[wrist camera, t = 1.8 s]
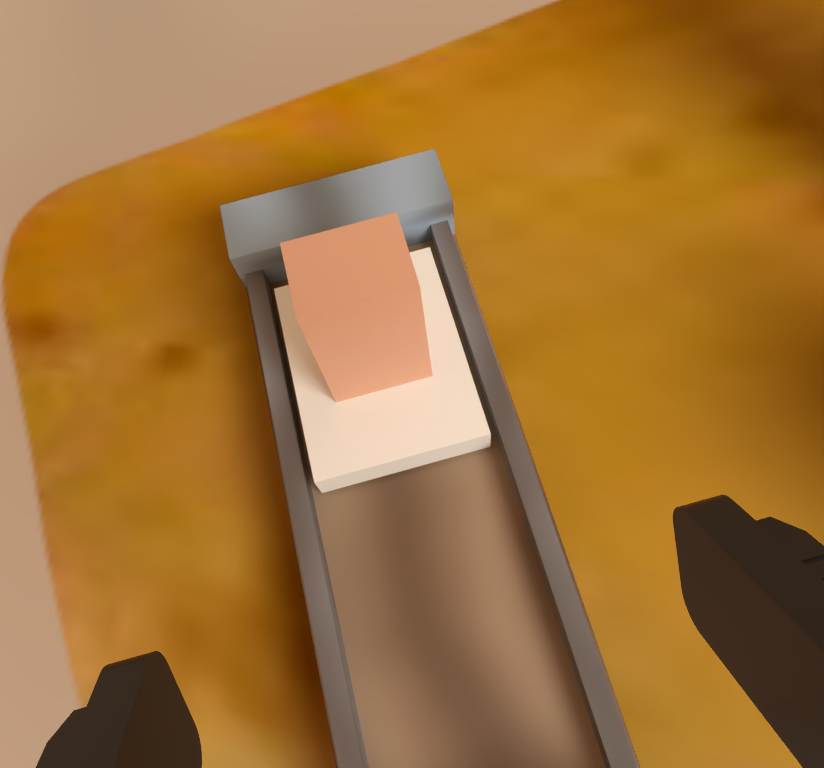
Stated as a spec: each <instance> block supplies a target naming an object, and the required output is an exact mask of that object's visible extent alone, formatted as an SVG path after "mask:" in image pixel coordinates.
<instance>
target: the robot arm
mask: <svg viewBox="0 0 824 768" xmlns="http://www.w3.org/2000/svg"><path fill="white" fill-rule="evenodd" d="M673 524H674V532H675V540H676V548H677V556H678V564H679V572H680V580H681V587H682V593H683V597H684V601H685V604H686V607H687V609H688V612H689V614H690V617H691V619H692V621H693V623H694V624H695V626H696V628H697V629H698V631H699V632H700V634H701V635H702V636H703V638H704V639H705V640H706V642H707V643H708V644H709V645H710V647H711V648H712V649H713V651H714V652H715V653H716V655H717V656H718V657H719V659H720V660H721V661H722V662H723V664H724V665H725V666H726V668H727V669H728V670H729V672H730V673H731V674H732V675H733V677H734V678H735V679H736V681H737V682H738V683H739V685H740V686H741V687H742V689H743V690H744V691H745V692H746V694H747V695H748V696H749V698H750V699H751V700H752V702H753V703H754V704H755V706H756V707H757V708H758V709H759V711H760V712H761V713H762V715H763V716H764V717H765V719H766V720H767V721H768V723H769V724H770V725H771V726H772V728H773V729H774V730H775V732H776V733H777V734H778V736H779V737H780V738H781V740H782V741H783V742H784V743H785V745H786V746H787V747H788V749H789V750H790V751H791V753H792V754H793V755H794V757H795V758H796V759H797V760H798V762H799V763H800V764H801V766H802V767H803V768H824V546H823V545H822V544H821V543H819V542H818V541H817V540H816V539H815V538H813V537H812V536H811V535H810V534H808V533H807V532H806V531H804V530H802V529H799V528H797V527H794V526H792V525H789V524H787V523H784V522H782V521H779V520H777V519H774V518H772V517H767V518H764V519H760V520H757V521H756V520H754V519H753V518H752V517H751V516H750V515H749V514H748V513H747V512H745V511H744V510H743V509H742V508H741V507H740V506H739V505H737V504H736V503H735V502H734V501H733V500H732V499H731V498H729V497H728V496H726V495H719V496H716V497H712V498H709V499H705V500H702V501H698V502H694V503H691V504H687V505H684V506H680V507H676V508H675V510H674V512H673ZM36 768H202V753H201V744H200V738H199V734H198V731H197V728H196V725H195V723H194V721H193V718H192V716H191V714H190V712H189V709H188V707H187V705H186V703H185V701H184V698H183V696H182V694H181V692H180V689H179V687H178V685H177V683H176V681H175V678H174V676H173V674H172V672H171V669H170V667H169V665H168V663H167V661H166V659H165V658H164V656H163V655H162V654H161V653H160V652H158V651H154V652H151V653H147V654H144V655H140V656H136V657H133V658H129V659H126V660H122V661H119V662H115V663H111V664H108V665H106V666H105V667H104V668H103V669H102V671H101V673H100V675H99V677H98V680H97V682H96V685H95V687H94V690H93V692H92V695H91V697H90V699H89V702H88V704H87V707H84V708H81V709H78V710H74V711H73V712H72V713H71V714H70V716H69V717H68V718H67V719H66V721H65V722H64V723H63V724H62V725H61V727H60V728H59V729H58V730H57V731H56V733H55V734H54V735H53V736H52V737H51V739H50V740H49V741H48V742H47V744H46V746H45V748H44V751H43V753H42V755H41V757H40V760H39V762H38V764H37V766H36Z"/></svg>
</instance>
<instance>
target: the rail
mask: <svg viewBox="0 0 824 768" xmlns="http://www.w3.org/2000/svg"><path fill="white" fill-rule="evenodd" d="M220 210H221V216H222V221H223V227H224V233H225V238H226V244H227V249H228V255H229V260H230V261H231V263H232V265H233V267H234V269H235V270H236V272H237V274H238V276H239V277H240V279H241V281H242V283H243V285H244V286H245V288H246V290H247V295H248V301H249V306H250V311H251V316H252V322H253V327H254V332H255V338H256V343H257V348H258V354H259V359H260V364H261V370H262V375H263V380H264V385H265V391H266V396H267V401H268V407H269V412H270V417H271V423H272V428H273V433H274V439H275V444H276V449H277V454H278V460H279V465H280V470H281V476H282V481H283V486H284V492H285V497H286V502H287V508H288V513H289V518H290V523H291V529H292V534H293V539H294V545H295V550H296V555H297V561H298V566H299V571H300V576H301V582H302V587H303V592H304V598H305V603H306V608H307V614H308V619H309V624H310V630H311V635H312V640H313V645H314V651H315V656H316V661H317V667H318V672H319V677H320V683H321V688H322V693H323V699H324V704H325V709H326V714H327V720H328V725H329V730H330V736H331V741H332V746H333V752H334V757H335V762H336V768H640V765H639V762H638V759H637V756H636V754H635V751H634V748H633V745H632V742H631V739H630V736H629V733H628V731H627V728H626V725H625V722H624V719H623V716H622V713H621V710H620V708H619V705H618V702H617V699H616V696H615V693H614V690H613V687H612V685H611V682H610V679H609V676H608V673H607V670H606V667H605V664H604V662H603V659H602V656H601V653H600V650H599V647H598V644H597V641H596V639H595V636H594V633H593V630H592V627H591V624H590V621H589V618H588V616H587V613H586V610H585V607H584V604H583V601H582V598H581V596H580V593H579V590H578V587H577V584H576V581H575V578H574V575H573V573H572V570H571V567H570V564H569V561H568V558H567V555H566V552H565V550H564V547H563V544H562V541H561V538H560V535H559V532H558V529H557V527H556V524H555V521H554V518H553V515H552V512H551V509H550V506H549V504H548V501H547V498H546V495H545V492H544V489H543V486H542V483H541V481H540V478H539V475H538V472H537V469H536V466H535V463H534V461H533V458H532V455H531V452H530V449H529V446H528V443H527V440H526V438H525V435H524V432H523V429H522V426H521V423H520V420H519V417H518V415H517V412H516V409H515V406H514V403H513V400H512V397H511V394H510V392H509V389H508V386H507V383H506V380H505V377H504V374H503V371H502V369H501V366H500V363H499V360H498V357H497V354H496V351H495V348H494V346H493V343H492V340H491V337H490V334H489V331H488V328H487V325H486V323H485V320H484V317H483V314H482V311H481V308H480V305H479V303H478V300H477V297H476V294H475V291H474V288H473V285H472V282H471V280H470V277H469V274H468V271H467V268H466V265H465V262H464V259H463V257H462V254H461V251H460V248H459V245H458V242H457V239H456V236H455V230H454V211H453V199H452V196H451V193H450V190H449V188H448V185H447V182H446V179H445V176H444V173H443V171H442V168H441V165H440V162H439V159H438V157H437V154H436V151H435V149H432V150H429V151H425V152H421V153H417V154H413V155H410V156H406V157H402V158H398V159H394V160H391V161H387V162H383V163H379V164H376V165H372V166H368V167H364V168H360V169H357V170H353V171H349V172H345V173H341V174H338V175H334V176H330V177H326V178H322V179H319V180H315V181H311V182H307V183H304V184H300V185H296V186H292V187H288V188H285V189H281V190H277V191H273V192H269V193H266V194H262V195H258V196H254V197H250V198H247V199H243V200H239V201H235V202H232V203H228V204H224V205H220ZM395 212H397V214H398V217H399V221H400V224H401V227H402V230H403V233H404V237H405V240H406V243H407V246H408V250H409V252H413V251H417V250H421V249H424V248H428V247H430V249H431V252H432V255H433V258H434V261H435V264H436V268H437V271H438V274H439V277H440V280H441V283H442V286H443V289H444V292H445V295H446V298H447V301H448V304H449V307H450V310H451V313H452V317H453V320H454V323H455V326H456V329H457V332H458V335H459V338H460V341H461V344H462V347H463V350H464V353H465V356H466V359H467V362H468V365H469V369H470V372H471V375H472V378H473V381H474V384H475V387H476V390H477V393H478V396H479V399H480V402H481V405H482V408H483V411H484V414H485V417H486V421H487V424H488V427H489V430H490V433H491V443H490V447H488V448H484V449H480V450H477V451H473V452H469V453H466V454H462V455H459V456H455V457H451V458H448V459H444V460H440V461H437V462H433V463H430V464H426V465H422V466H419V467H415V468H411V469H408V470H404V471H401V472H397V473H393V474H390V475H386V476H382V477H379V478H375V479H372V480H368V481H364V482H361V483H357V484H353V485H350V486H346V487H343V488H339V489H335V490H332V491H328V492H324V493H322V492H321V491H320V490H319V488H318V487H317V486H316V484H315V483H314V479H313V474H312V470H311V465H310V460H309V455H308V450H307V446H306V441H305V436H304V431H303V426H302V422H301V417H300V412H299V407H298V402H297V397H296V393H295V388H294V383H293V378H292V373H291V369H290V364H289V359H288V354H287V349H286V345H285V340H284V335H283V330H282V325H281V321H280V316H279V311H278V306H277V301H276V296H275V292H274V289H275V288H279V287H282V286H286V285H289V283H288V278H287V274H286V269H285V265H284V260H283V255H282V251H281V246H280V243H282V242H286V241H290V240H293V239H297V238H301V237H305V236H308V235H312V234H316V233H320V232H323V231H327V230H331V229H335V228H338V227H342V226H346V225H350V224H354V223H357V222H361V221H365V220H369V219H372V218H376V217H380V216H384V215H387V214H391V213H395Z"/></svg>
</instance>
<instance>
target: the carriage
mask: <svg viewBox="0 0 824 768" xmlns="http://www.w3.org/2000/svg"><path fill="white" fill-rule="evenodd" d="M280 246H281V251H282V255H283V260H284V265H285V269H286V274H287V278H288V283H289V285H286V286H282V287H279V288H275V289H274V292H275V296H276V301H277V306H278V311H279V316H280V321H281V325H282V330H283V335H284V340H285V345H286V349H287V354H288V359H289V364H290V369H291V373H292V378H293V383H294V388H295V393H296V397H297V402H298V407H299V412H300V417H301V422H302V426H303V431H304V436H305V441H306V446H307V450H308V455H309V460H310V465H311V470H312V474H313V479H314V483H315V484H316V486H317V487H318V488H319V490H320V491H321V492H322V493H324V492H328V491H332V490H335V489H339V488H343V487H346V486H350V485H353V484H357V483H361V482H364V481H368V480H372V479H375V478H379V477H382V476H386V475H390V474H393V473H397V472H401V471H404V470H408V469H411V468H415V467H419V466H422V465H426V464H430V463H433V462H437V461H440V460H444V459H448V458H451V457H455V456H459V455H462V454H466V453H469V452H473V451H477V450H480V449H484V448H488V447H490V443H491V433H490V430H489V427H488V424H487V421H486V417H485V414H484V411H483V408H482V405H481V402H480V399H479V396H478V393H477V390H476V387H475V384H474V381H473V378H472V375H471V372H470V369H469V365H468V362H467V359H466V356H465V353H464V350H463V347H462V344H461V341H460V338H459V335H458V332H457V329H456V326H455V323H454V320H453V317H452V313H451V310H450V307H449V304H448V301H447V298H446V295H445V292H444V289H443V286H442V283H441V280H440V277H439V274H438V271H437V268H436V264H435V261H434V258H433V255H432V252H431V249H430V247H428V248H424V249H421V250H417V251H413V252H409V250H408V246H407V243H406V240H405V237H404V233H403V230H402V227H401V224H400V221H399V217H398V214H397V212H395V213H391V214H387V215H384V216H380V217H376V218H372V219H369V220H365V221H361V222H357V223H354V224H350V225H346V226H342V227H338V228H335V229H331V230H327V231H323V232H320V233H316V234H312V235H308V236H305V237H301V238H297V239H293V240H290V241H286V242H282V243H280Z"/></svg>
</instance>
